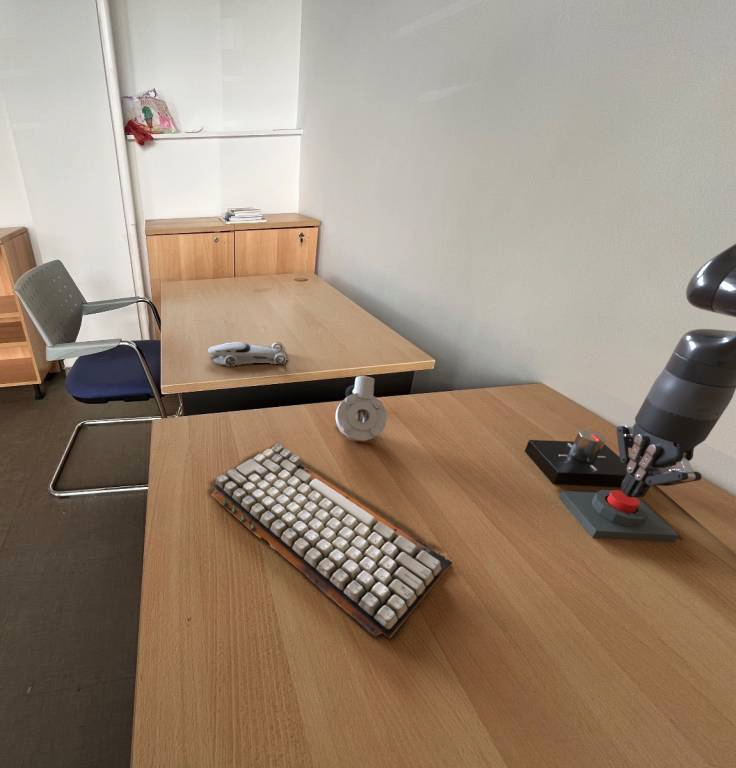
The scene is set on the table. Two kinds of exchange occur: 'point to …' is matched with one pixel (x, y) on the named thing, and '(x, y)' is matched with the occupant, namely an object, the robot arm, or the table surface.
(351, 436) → the mechanical valve
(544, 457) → the panel
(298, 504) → the mechanical keyboard
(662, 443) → the robot arm
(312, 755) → the table surface
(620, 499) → the button
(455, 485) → the table surface
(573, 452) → the knob
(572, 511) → the button box
